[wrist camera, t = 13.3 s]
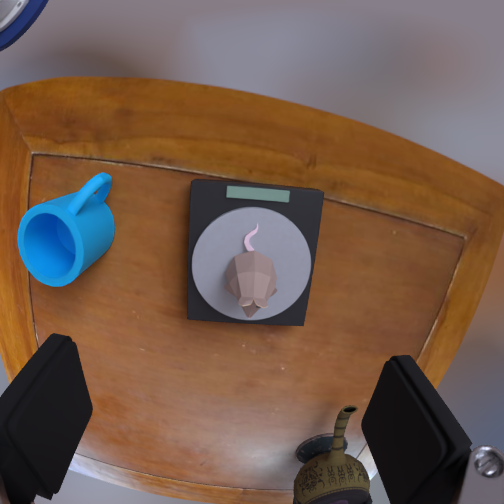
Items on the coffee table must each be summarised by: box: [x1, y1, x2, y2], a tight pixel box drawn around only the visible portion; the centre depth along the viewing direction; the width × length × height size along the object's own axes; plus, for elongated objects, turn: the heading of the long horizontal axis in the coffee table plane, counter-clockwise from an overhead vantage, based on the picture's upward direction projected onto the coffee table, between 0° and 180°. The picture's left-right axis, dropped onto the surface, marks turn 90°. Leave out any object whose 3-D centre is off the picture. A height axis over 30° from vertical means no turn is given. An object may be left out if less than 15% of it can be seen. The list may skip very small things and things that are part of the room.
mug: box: [18, 173, 115, 287], centre depth 29 cm, size 12×8×8 cm
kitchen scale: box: [187, 179, 324, 326], centre depth 33 cm, size 15×13×3 cm
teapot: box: [293, 405, 372, 504], centre depth 34 cm, size 12×25×23 cm, turn 178°
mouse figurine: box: [224, 223, 278, 318], centre depth 29 cm, size 5×8×7 cm, turn 173°
